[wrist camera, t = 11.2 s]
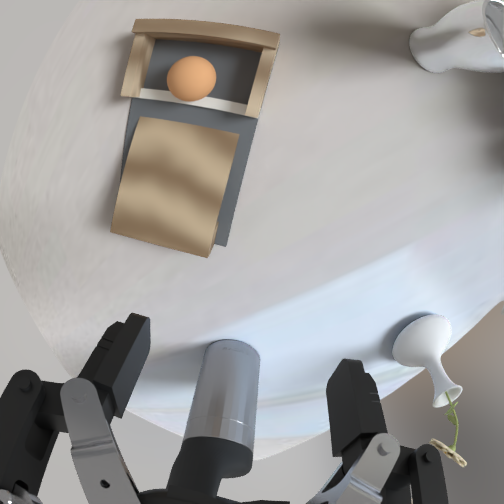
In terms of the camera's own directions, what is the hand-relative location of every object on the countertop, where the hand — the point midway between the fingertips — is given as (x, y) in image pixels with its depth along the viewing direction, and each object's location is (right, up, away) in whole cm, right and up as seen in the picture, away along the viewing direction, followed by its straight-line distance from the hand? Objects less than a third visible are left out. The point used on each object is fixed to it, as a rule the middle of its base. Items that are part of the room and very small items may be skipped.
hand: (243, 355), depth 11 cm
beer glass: (+21, +28, +11) cm, 37 cm away
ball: (-6, +21, +13) cm, 26 cm away
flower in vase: (+29, -11, +31) cm, 44 cm away
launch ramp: (-8, +13, +21) cm, 26 cm away
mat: (-7, +17, +19) cm, 27 cm away
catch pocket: (-5, +24, +15) cm, 29 cm away
